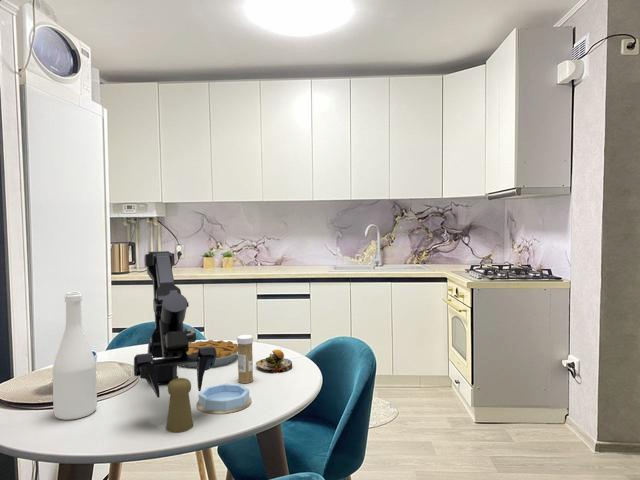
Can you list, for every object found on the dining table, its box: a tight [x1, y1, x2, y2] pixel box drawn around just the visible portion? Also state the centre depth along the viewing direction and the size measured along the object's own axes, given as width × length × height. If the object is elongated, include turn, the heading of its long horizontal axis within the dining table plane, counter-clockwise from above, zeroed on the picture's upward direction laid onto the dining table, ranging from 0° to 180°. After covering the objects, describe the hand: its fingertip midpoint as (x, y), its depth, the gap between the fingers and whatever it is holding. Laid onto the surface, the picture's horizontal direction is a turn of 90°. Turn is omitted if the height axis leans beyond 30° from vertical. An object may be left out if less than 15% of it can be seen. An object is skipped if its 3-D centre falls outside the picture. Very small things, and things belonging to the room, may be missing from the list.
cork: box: [165, 377, 194, 433], centre depth 107 cm, size 6×6×11 cm
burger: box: [255, 348, 293, 374], centre depth 151 cm, size 12×12×8 cm
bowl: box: [198, 383, 250, 411], centre depth 122 cm, size 12×12×2 cm
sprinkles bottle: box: [236, 334, 254, 384], centre depth 138 cm, size 5×5×14 cm
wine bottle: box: [52, 291, 98, 421], centre depth 115 cm, size 10×10×30 cm
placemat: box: [196, 395, 252, 415], centre depth 122 cm, size 14×14×1 cm
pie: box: [180, 339, 238, 368], centre depth 160 cm, size 22×22×5 cm
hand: (179, 393), depth 107 cm, fingers open, 9 cm apart
